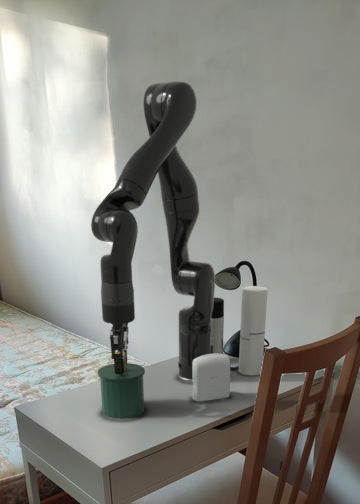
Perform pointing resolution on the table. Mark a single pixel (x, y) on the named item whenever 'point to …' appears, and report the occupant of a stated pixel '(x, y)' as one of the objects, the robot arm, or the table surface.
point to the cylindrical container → (252, 329)
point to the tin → (122, 398)
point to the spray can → (217, 326)
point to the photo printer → (211, 377)
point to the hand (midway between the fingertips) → (121, 368)
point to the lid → (129, 374)
